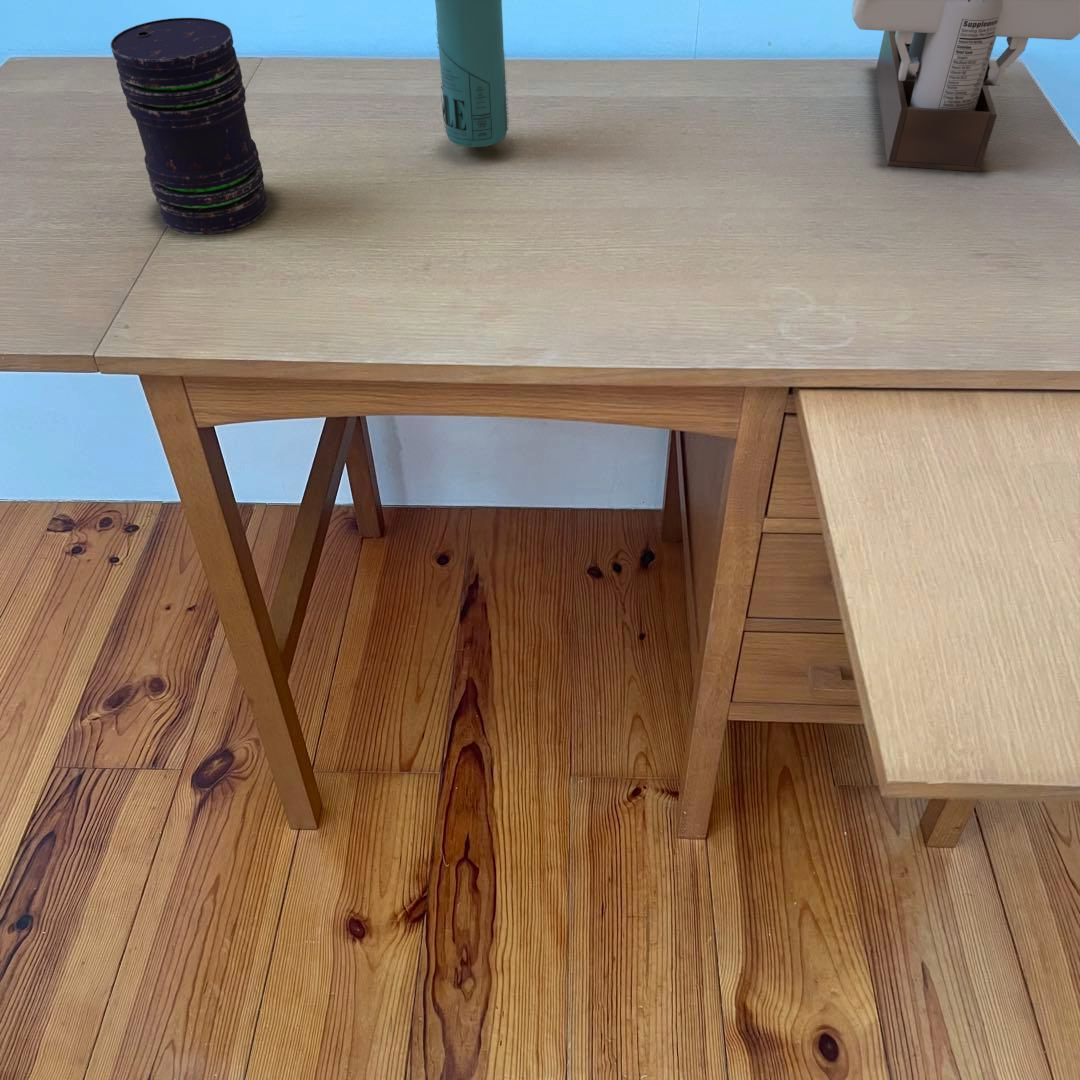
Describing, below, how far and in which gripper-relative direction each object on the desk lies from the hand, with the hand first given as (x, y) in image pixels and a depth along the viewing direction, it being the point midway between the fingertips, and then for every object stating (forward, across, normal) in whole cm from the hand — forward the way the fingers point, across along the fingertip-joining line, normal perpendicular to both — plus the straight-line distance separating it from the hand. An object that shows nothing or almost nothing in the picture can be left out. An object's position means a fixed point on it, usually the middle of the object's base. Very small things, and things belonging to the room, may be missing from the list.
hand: (948, 81), depth 96 cm
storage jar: (+7, +66, +24) cm, 70 cm away
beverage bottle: (+7, +45, +7) cm, 46 cm away
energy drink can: (+6, 0, 0) cm, 6 cm away
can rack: (+7, 0, -8) cm, 10 cm away
